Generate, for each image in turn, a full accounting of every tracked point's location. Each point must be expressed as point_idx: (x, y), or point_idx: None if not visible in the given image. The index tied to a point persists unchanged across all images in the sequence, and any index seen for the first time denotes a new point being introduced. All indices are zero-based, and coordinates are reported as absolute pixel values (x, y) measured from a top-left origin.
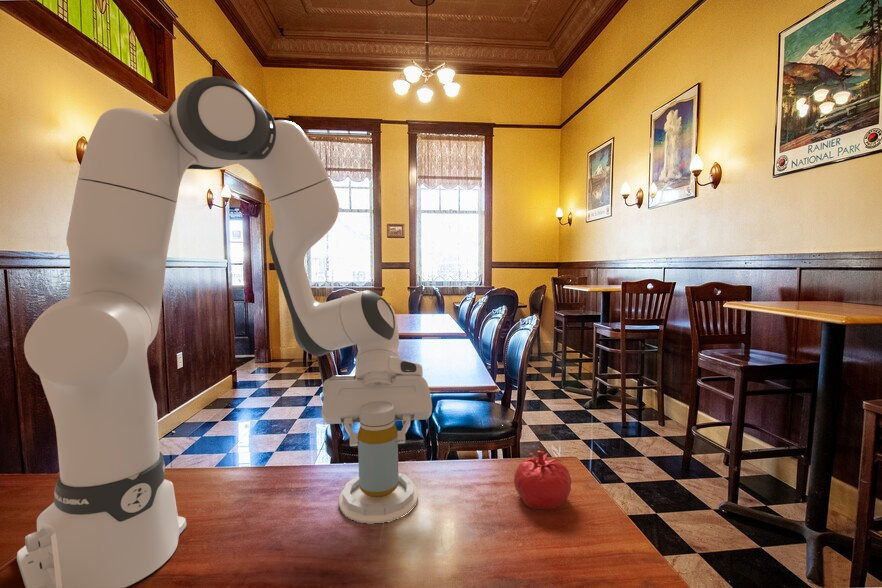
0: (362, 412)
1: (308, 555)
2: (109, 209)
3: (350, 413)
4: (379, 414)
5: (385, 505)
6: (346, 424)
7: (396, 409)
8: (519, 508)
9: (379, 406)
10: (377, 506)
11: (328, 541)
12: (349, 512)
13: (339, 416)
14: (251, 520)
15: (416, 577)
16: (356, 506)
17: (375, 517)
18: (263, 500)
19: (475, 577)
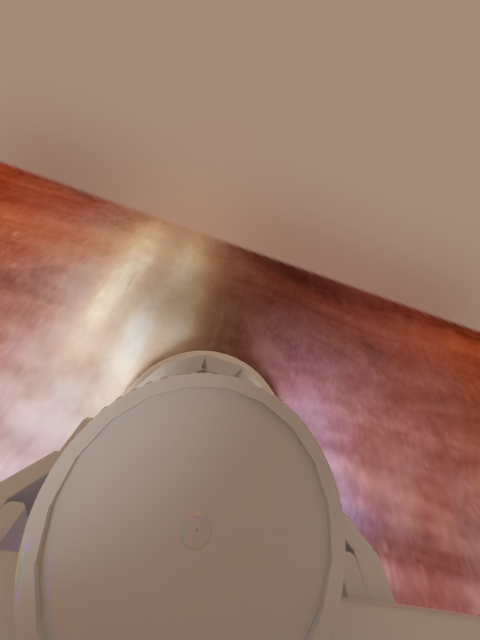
0: (320, 454)
1: (326, 318)
2: None
3: (379, 617)
4: (207, 372)
5: (201, 364)
6: (363, 548)
7: (7, 591)
8: None
9: (167, 562)
10: (217, 365)
11: (300, 338)
12: (267, 388)
13: (438, 610)
14: (431, 439)
15: (192, 234)
16: (257, 381)
17: (223, 356)
18: (433, 512)
19: (121, 209)
